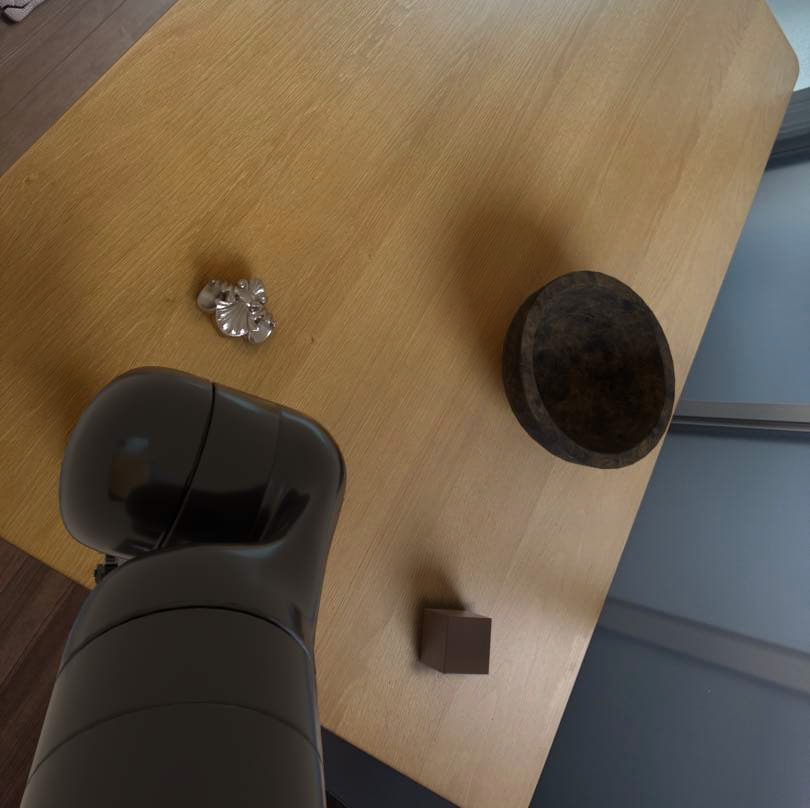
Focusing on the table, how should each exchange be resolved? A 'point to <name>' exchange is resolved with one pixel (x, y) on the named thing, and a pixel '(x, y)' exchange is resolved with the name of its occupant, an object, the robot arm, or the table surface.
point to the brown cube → (456, 642)
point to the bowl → (589, 371)
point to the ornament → (238, 309)
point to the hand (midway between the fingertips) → (120, 474)
